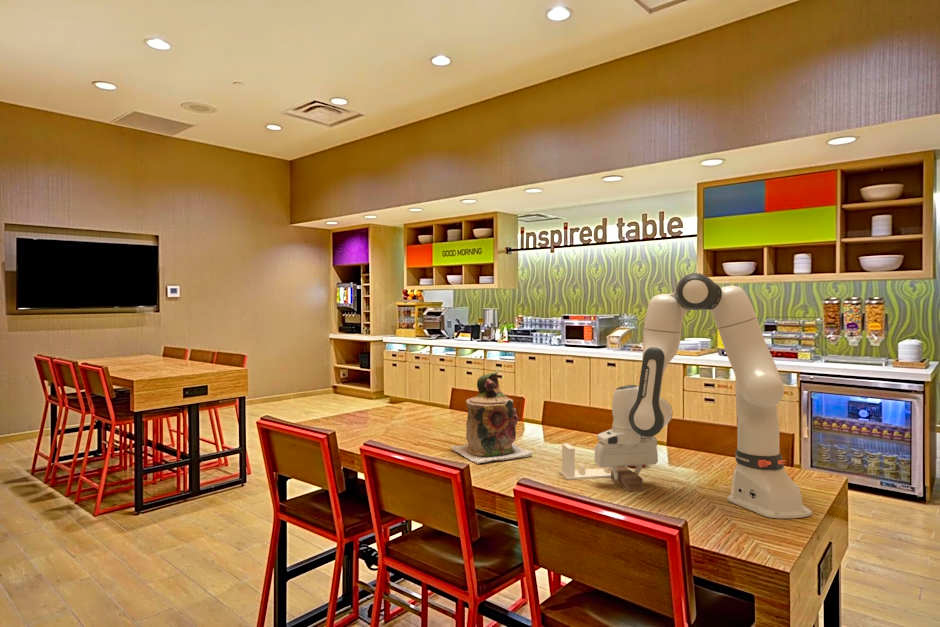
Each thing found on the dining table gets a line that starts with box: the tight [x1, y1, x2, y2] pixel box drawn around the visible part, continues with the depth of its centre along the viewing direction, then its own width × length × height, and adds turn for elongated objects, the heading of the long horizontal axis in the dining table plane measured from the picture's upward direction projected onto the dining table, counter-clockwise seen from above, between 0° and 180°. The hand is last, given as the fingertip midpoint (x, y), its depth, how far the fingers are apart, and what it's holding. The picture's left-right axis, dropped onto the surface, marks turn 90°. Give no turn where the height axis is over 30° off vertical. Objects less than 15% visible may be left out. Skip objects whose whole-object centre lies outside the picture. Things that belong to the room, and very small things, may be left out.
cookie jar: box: [450, 369, 534, 465], centre depth 225 cm, size 25×25×32 cm
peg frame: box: [559, 442, 629, 480], centre depth 198 cm, size 22×8×10 cm, turn 99°
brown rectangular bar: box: [610, 466, 644, 493], centre depth 187 cm, size 14×4×4 cm, turn 9°
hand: (626, 479), depth 187 cm, fingers closed on brown rectangular bar, 4 cm apart
